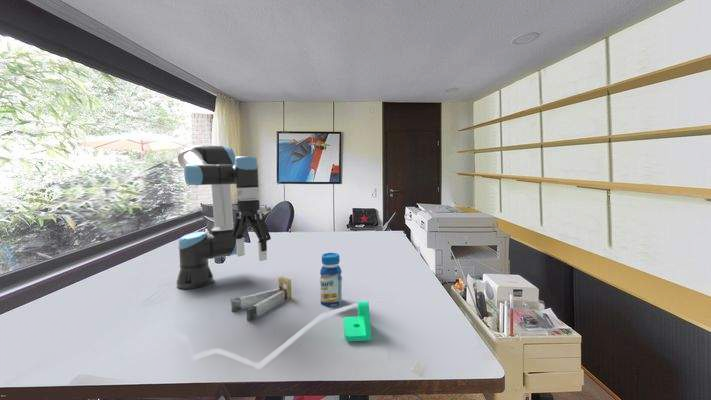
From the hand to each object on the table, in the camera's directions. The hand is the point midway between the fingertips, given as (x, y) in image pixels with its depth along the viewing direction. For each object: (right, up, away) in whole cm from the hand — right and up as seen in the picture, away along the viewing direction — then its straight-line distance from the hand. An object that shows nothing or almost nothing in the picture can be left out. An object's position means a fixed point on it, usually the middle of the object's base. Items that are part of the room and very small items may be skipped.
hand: (251, 258), depth 107 cm
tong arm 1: (0, -19, +5) cm, 19 cm away
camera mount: (+38, -22, -13) cm, 46 cm away
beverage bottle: (+28, -20, +7) cm, 35 cm away
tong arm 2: (+6, -19, +1) cm, 20 cm away
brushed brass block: (+10, -18, +11) cm, 23 cm away
